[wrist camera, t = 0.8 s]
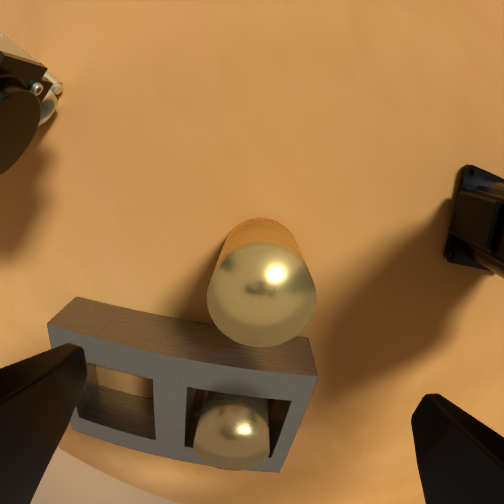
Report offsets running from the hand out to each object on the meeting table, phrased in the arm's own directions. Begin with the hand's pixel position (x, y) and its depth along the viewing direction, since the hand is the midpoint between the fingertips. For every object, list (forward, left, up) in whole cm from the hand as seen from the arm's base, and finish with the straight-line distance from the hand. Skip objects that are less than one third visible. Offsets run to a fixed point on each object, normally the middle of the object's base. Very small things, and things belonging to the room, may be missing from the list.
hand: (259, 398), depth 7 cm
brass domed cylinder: (0, 0, -12) cm, 12 cm away
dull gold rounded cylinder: (0, +10, -12) cm, 16 cm away
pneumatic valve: (+16, -9, -12) cm, 22 cm away
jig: (+4, +10, -12) cm, 16 cm away
